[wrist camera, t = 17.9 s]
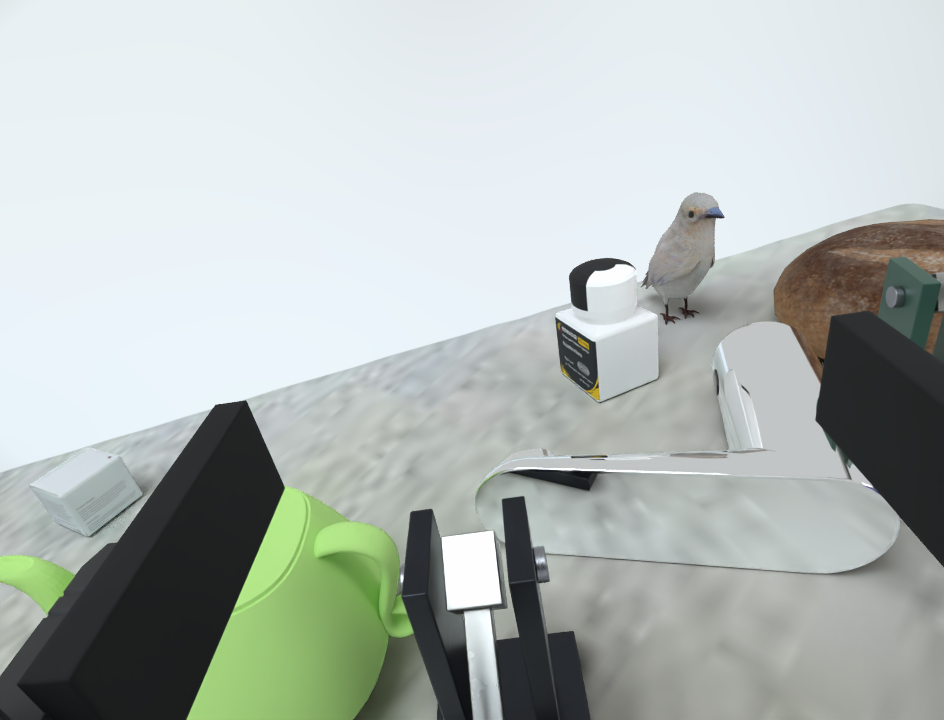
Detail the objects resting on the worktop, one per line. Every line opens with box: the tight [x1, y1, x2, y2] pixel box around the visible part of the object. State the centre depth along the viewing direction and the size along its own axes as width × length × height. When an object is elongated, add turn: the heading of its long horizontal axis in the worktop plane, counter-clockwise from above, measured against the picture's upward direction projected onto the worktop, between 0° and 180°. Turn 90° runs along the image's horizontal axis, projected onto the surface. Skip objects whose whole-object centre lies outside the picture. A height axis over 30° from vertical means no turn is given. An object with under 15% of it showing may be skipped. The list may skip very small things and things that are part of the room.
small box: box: [29, 447, 143, 537], centre depth 52 cm, size 6×6×5 cm
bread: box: [774, 219, 944, 359], centre depth 53 cm, size 26×27×10 cm
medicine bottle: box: [555, 258, 659, 402], centre depth 55 cm, size 7×7×12 cm
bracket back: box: [878, 257, 944, 363], centre depth 39 cm, size 9×7×15 cm
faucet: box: [474, 321, 900, 574], centre depth 43 cm, size 25×8×19 cm
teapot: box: [0, 486, 414, 720], centre depth 32 cm, size 22×15×13 cm
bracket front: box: [400, 496, 591, 720], centre depth 26 cm, size 10×8×15 cm
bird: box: [641, 193, 724, 325], centre depth 62 cm, size 5×14×15 cm, turn 18°
